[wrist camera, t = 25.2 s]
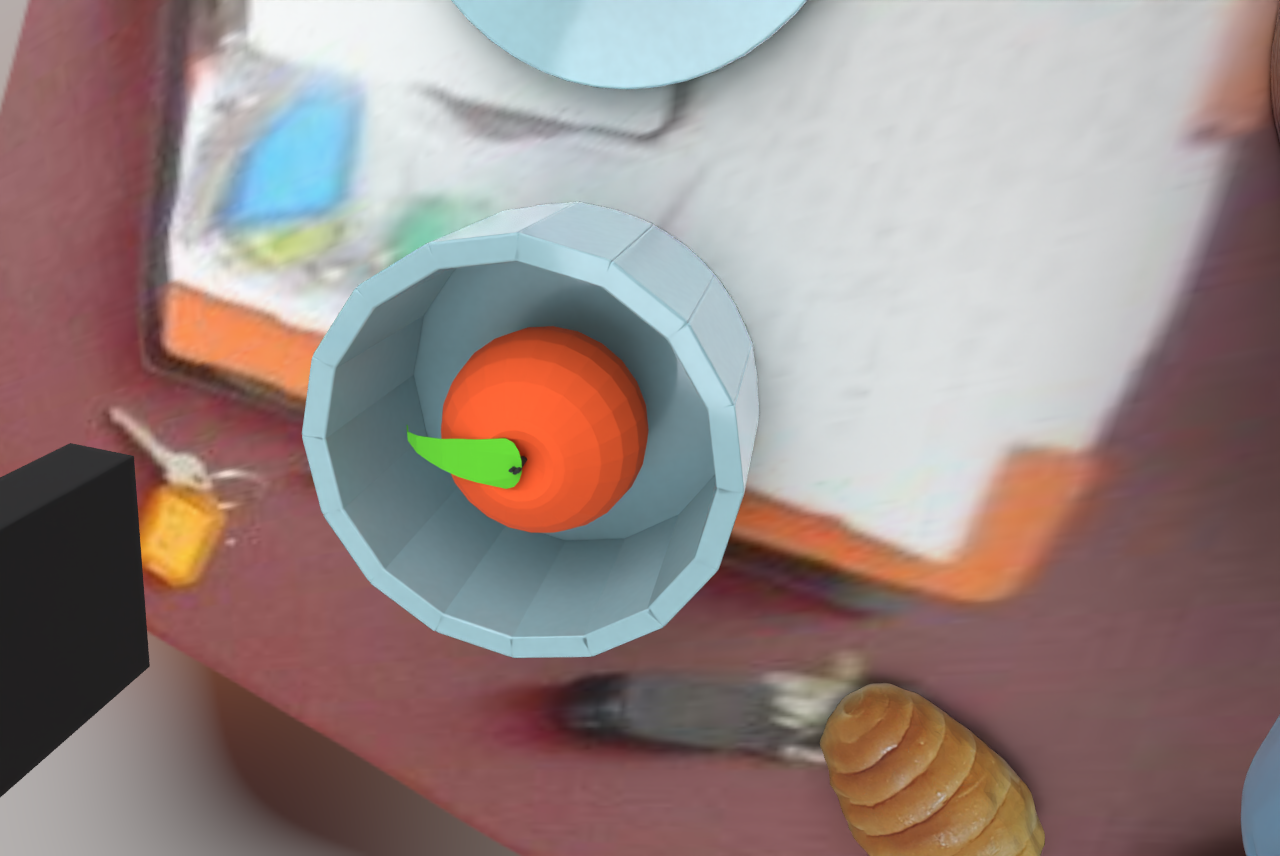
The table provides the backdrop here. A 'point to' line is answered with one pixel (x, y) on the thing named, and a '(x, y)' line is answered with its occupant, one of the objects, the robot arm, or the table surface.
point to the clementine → (541, 430)
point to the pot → (414, 395)
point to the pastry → (923, 781)
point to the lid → (628, 36)
